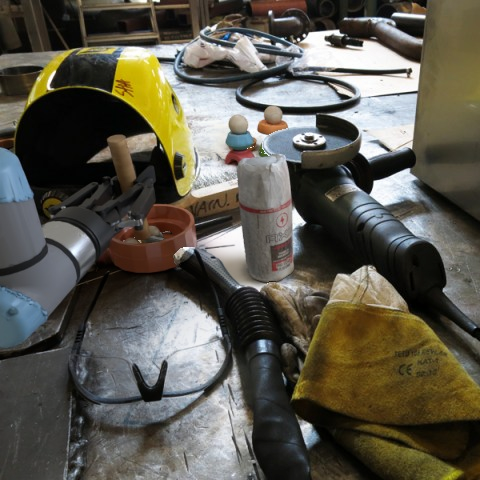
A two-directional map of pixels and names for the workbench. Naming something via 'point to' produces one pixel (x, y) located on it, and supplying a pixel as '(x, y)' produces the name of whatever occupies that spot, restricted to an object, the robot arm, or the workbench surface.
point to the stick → (125, 174)
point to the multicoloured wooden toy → (242, 138)
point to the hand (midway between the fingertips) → (142, 172)
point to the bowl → (155, 253)
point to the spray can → (266, 216)
